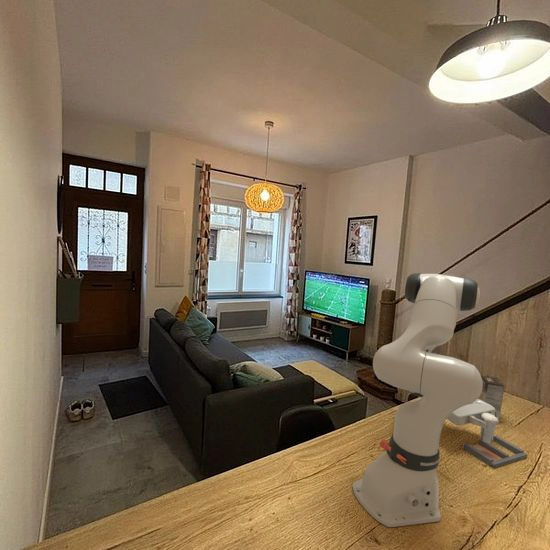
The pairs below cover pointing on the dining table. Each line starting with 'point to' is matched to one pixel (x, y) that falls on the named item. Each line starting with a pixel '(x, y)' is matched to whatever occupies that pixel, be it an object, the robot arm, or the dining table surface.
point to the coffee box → (492, 393)
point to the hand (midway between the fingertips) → (492, 424)
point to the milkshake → (489, 431)
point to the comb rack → (495, 452)
